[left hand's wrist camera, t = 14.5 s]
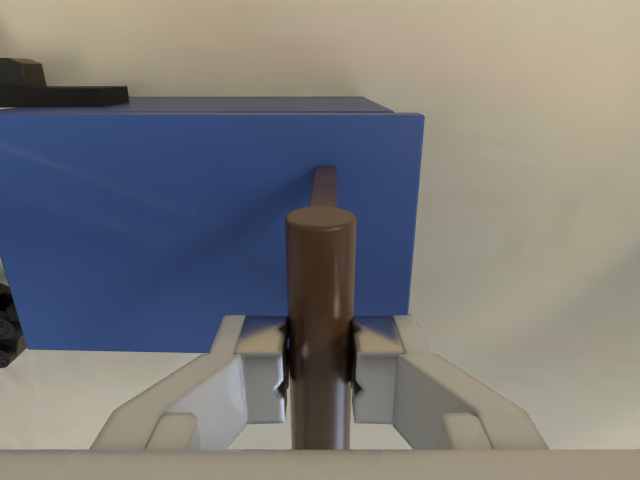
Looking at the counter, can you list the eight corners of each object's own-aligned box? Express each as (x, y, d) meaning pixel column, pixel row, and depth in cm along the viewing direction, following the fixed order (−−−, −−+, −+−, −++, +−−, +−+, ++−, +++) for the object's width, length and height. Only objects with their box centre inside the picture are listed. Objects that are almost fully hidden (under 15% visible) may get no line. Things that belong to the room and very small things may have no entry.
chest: (363, 96, 26) (394, 110, 16) (358, 245, 29) (381, 333, 19) (109, 97, 25) (-20, 111, 16) (134, 246, 29) (42, 336, 19)
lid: (420, 112, 15) (499, 149, 8) (401, 343, 18) (443, 519, 11) (-21, 111, 15) (-335, 144, 8) (41, 336, 19) (-141, 500, 12)
